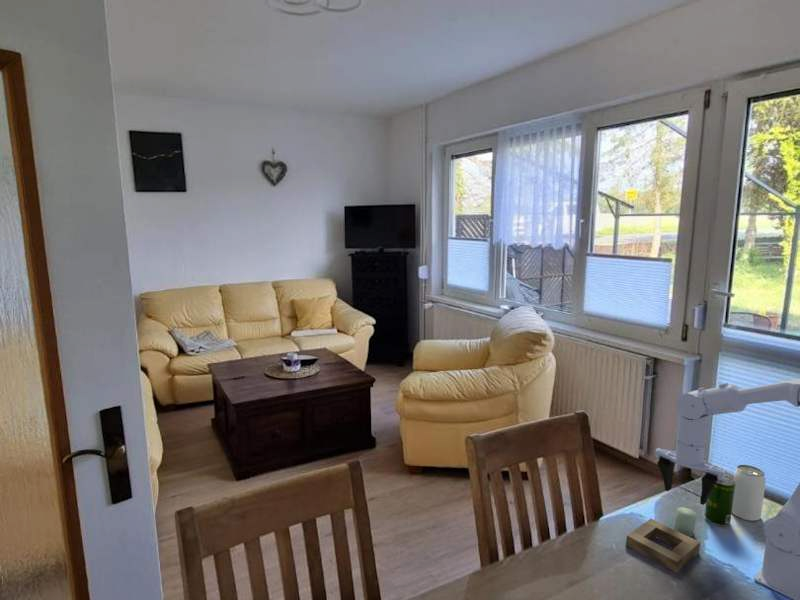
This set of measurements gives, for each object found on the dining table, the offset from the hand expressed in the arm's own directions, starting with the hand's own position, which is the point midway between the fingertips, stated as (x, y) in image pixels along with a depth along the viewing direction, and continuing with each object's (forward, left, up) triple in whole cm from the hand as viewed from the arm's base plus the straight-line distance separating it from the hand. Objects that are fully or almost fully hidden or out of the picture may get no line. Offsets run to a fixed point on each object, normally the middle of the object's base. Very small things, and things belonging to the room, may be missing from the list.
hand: (685, 496), depth 117 cm
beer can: (-3, -11, -9) cm, 15 cm away
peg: (0, 0, -9) cm, 9 cm away
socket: (0, +11, -9) cm, 14 cm away
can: (-6, -20, -9) cm, 23 cm away
